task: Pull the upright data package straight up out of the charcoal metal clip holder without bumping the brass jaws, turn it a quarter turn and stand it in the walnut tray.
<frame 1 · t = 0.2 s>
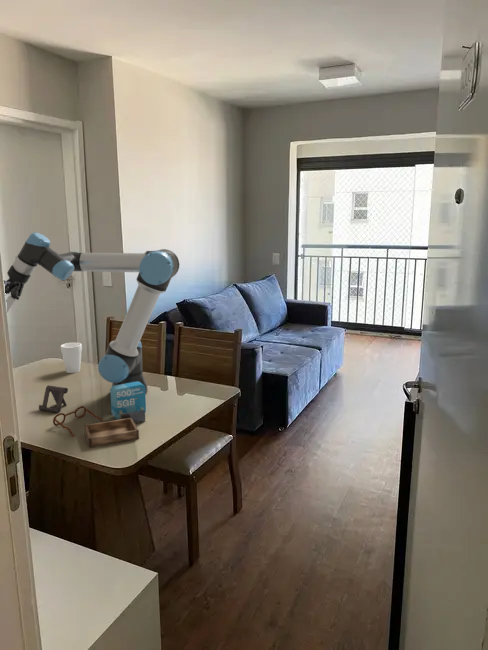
portable electronic device stand: (55, 409, 188), on the table
tray: (111, 435, 165), on the table
foam cup: (73, 371, 233), on the table
clip holder: (129, 415, 182), on the table
glasses: (79, 427, 173), on the table
data package: (129, 415, 182), on the table
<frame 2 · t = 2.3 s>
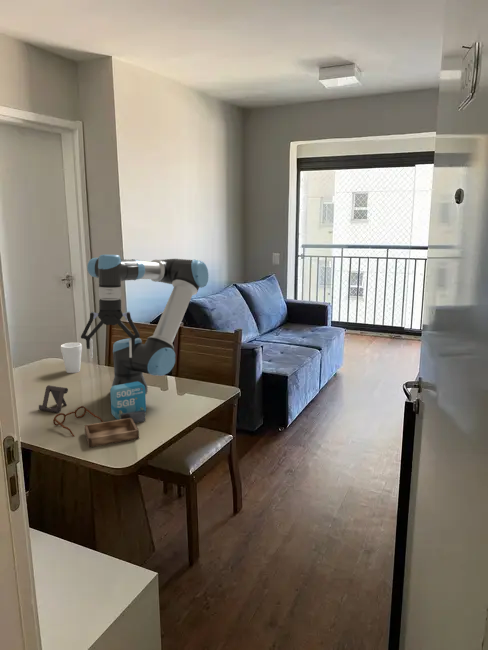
hand: (111, 357, 174), 23 cm above the table, tool pointing down, fingers open, 13 cm apart
nothing on the table moved.
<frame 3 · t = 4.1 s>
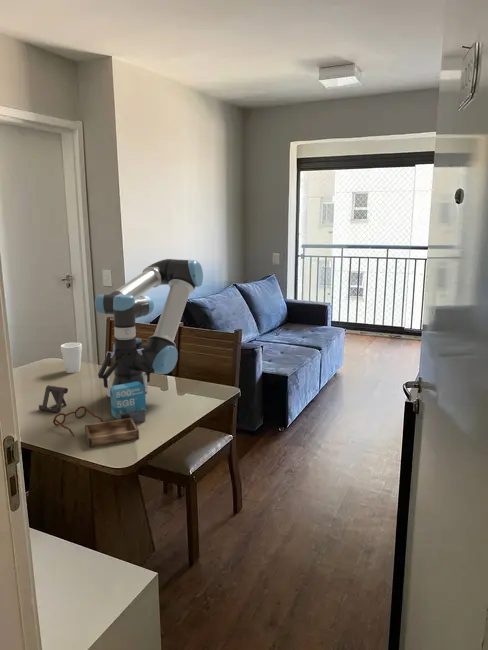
hand: (127, 393, 180), 9 cm above the table, tool pointing down, fingers open, 13 cm apart
nothing on the table moved.
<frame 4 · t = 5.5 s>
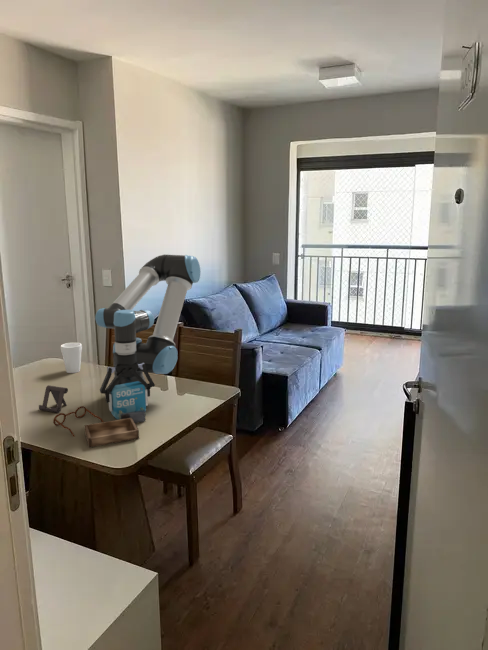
hand: (128, 407, 181), 3 cm above the table, tool pointing down, fingers closed on data package, 12 cm apart
data package: (129, 415, 182), on the table, touching gripper
everything else where it was.
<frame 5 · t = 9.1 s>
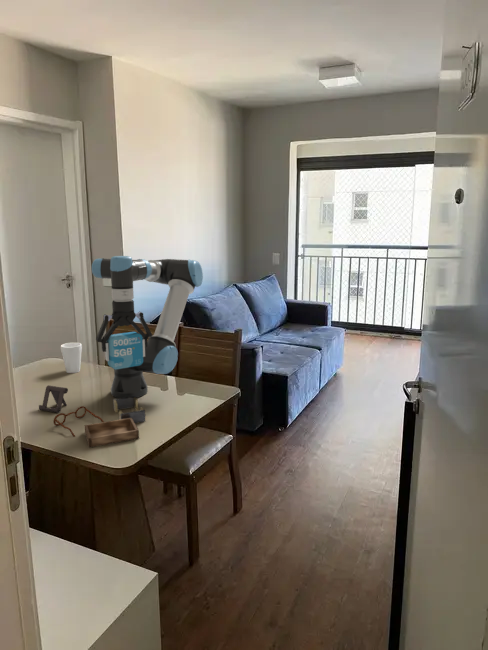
hand: (125, 357, 176), 23 cm above the table, tool pointing down, fingers closed on data package, 12 cm apart
data package: (125, 366, 177), point 19 cm above the table, touching gripper
everything else where it was.
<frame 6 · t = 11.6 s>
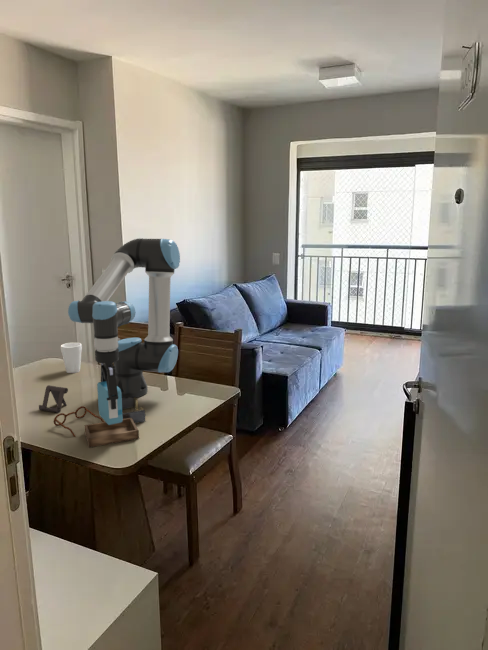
hand: (110, 410, 163), 9 cm above the table, tool pointing down, fingers closed on data package, 12 cm apart
data package: (110, 419, 163), point 6 cm above the table, touching gripper
everything else where it was.
when the fingers open (6 cm above the table, at t = 12.9 s): data package stays where it is, resting on tray.
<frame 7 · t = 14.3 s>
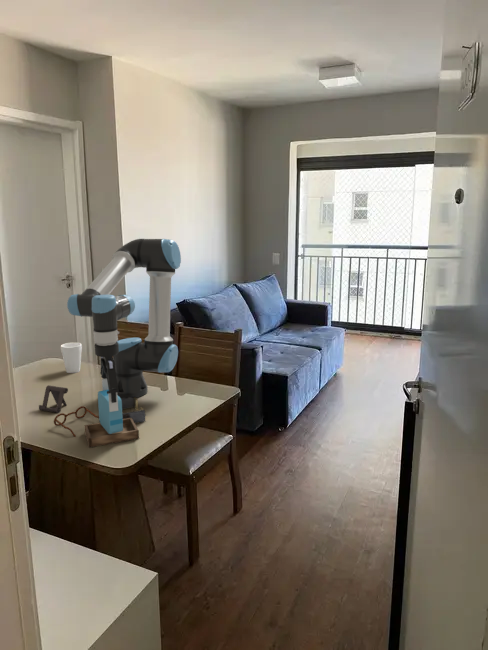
hand: (110, 403, 162), 12 cm above the table, tool pointing down, fingers open, 13 cm apart
data package: (111, 428, 164), point 3 cm above the table, touching tray
everything else where it was.
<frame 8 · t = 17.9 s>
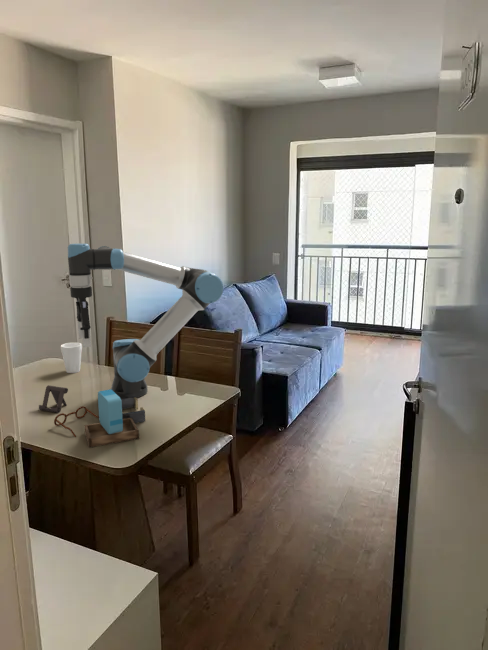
hand: (84, 342, 182), 27 cm above the table, tool pointing down, fingers open, 13 cm apart
nothing on the table moved.
at the end: data package inside the target area on the tray (0.1 cm from its centre), point 2.8 cm above the tray's base; data package tilted 0°; the gripper is holding nothing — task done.
